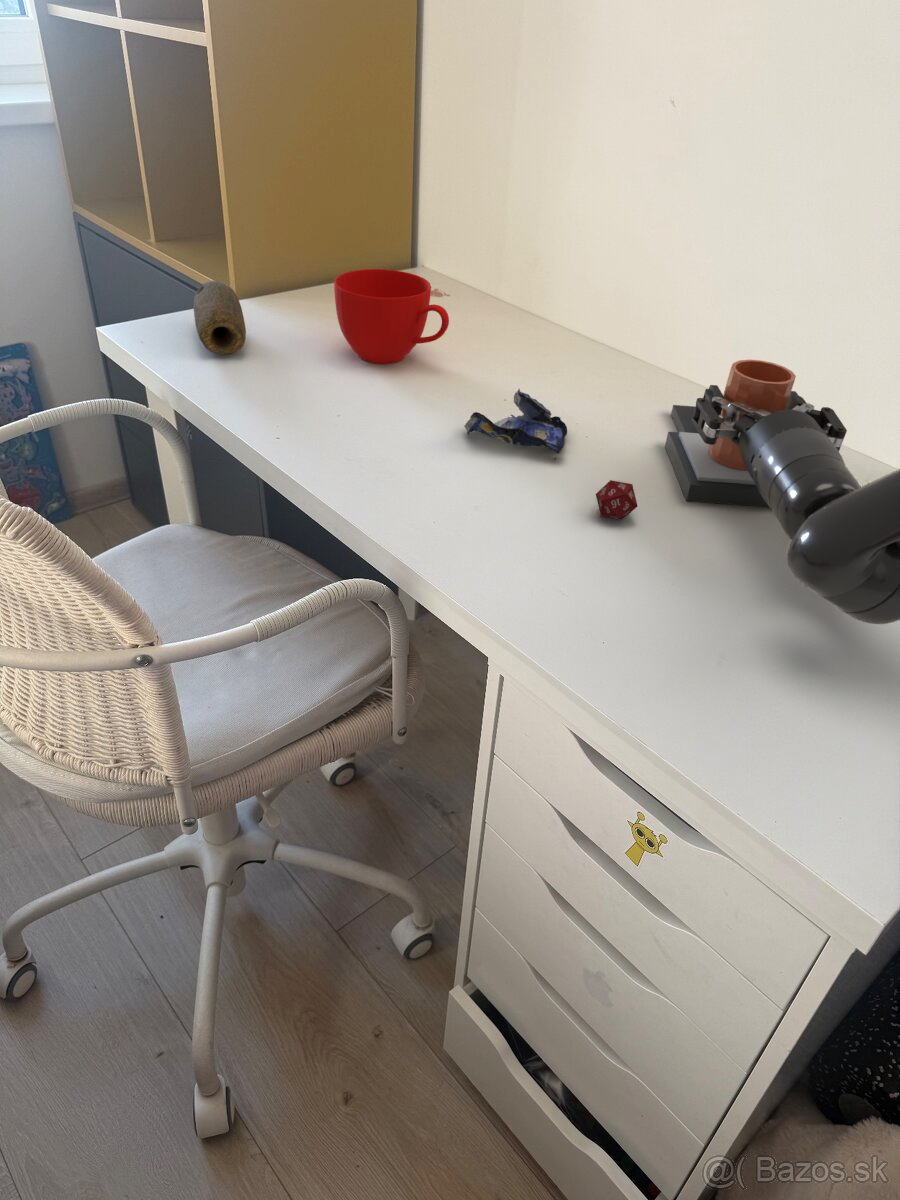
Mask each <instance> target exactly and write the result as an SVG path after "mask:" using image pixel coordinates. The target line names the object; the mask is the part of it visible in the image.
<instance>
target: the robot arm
mask: <svg viewBox="0 0 900 1200" xmlns="http://www.w3.org/2000/svg"><path fill="white" fill-rule="evenodd" d="M723 394H724V393H722V390H721V389H720V387H719V386H718V385H716V384H710V385H709V387H708V388H705V389H704V394H703V397H698V398H696V401H695V406H694V407H695V410H694V414H693V416H692V420H691V421H692V423H693V425H694V426H695V428H696V430H697V431H698V433H699V435H700V436H701V438H702V439H703V441H704V442H705V443H706V444H709V445H714V444H716V441H717V438H731V440H732V442H734V443H735V444H737V445H738V446H739V447H740V450H741V455H742V459H743V462H744V465H745V466H746V468H747V470H748V472H749V474H750V476H751V477H752V479H753V481H754V483H755V485H756V487H757V489H758V490H759V492H760V494H761V496H762V497H763V499H764V501H765V502H766V503H767V504H768V505H769V507H768V508H770V509H771V511H772V512H773V513H774V516H775V517H776V519H777V521H778V523H779V524H780V526H781V528H782V530H783V531H784V533H785V534H786V536H787V537H788V538H789V539H790V540H791V541H790V543H789V545H788V550H787V565H788V568H789V570H790V572H791V574H792V575H793V576H794V577H795V579H796V580H797V581H798V582H799V583H800V584H802V585H803V586H805V587H806V588H807V589H808V590H811V591H812V592H814V593H815V594H816V595H818V596H820V597H821V598H823V599H824V600H826V601H827V602H829V603H830V604H831V605H833V606H834V607H836V608H838V609H839V610H841V611H842V612H843V613H845V614H846V615H848V616H850V617H851V618H853V619H854V620H857V621H859V622H862V623H866V624H871V625H887V624H892V623H895V622H896V623H897V622H898V621H900V468H898V469H896V470H894V471H892V472H890V473H887V474H885V475H883V476H881V477H879V478H877V479H875V480H873V481H871V482H868V483H867V484H864V485H862V486H861V485H860V483H859V482H858V480H857V479H856V478H855V476H854V475H853V474H852V472H851V471H850V470H849V468H848V467H847V466H846V463H845V460H844V458H843V456H842V455H841V453H840V450H841V448H842V445H843V442H844V439H845V437H846V434H847V433H848V430H847V428H846V426H845V425H844V423H843V421H841V418H840V417H838V415H837V414H836V411H835V410H834V409H833V408H831V407H828V406H822V407H821V408H820V410H819V409H815V405H813V404H811V403H807V401H806V400H805V399H804V397H803V396H800V395H799V393H798V392H797V391H795V390H791V393H790V396H789V399H788V402H787V405H786V408H785V410H781V411H777V412H768V411H766V410H764V409H759V410H758V409H756V408H754V407H752V406H750V405H747V404H745V403H743V402H741V401H737V402H734V403H732V402H730V401H728V400H725V399H724V396H723ZM722 408H723V409H725V410H726V412H727V414H726V417H725V419H724V418H723V416H721V412H722ZM740 412H741V413H743V414H745V415H744V416H742V417H741V418H740V419H739V420H738V417H739V414H740Z"/></svg>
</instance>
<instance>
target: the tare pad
mask: <svg viewBox="0 0 900 1200" xmlns="http://www.w3.org/2000/svg"><path fill="white" fill-rule="evenodd" d="M671 408H672V409H671V413H670V416H671V419H672V421H673V423H674V425H675V427H676V430H677V432H687V433H698V431H697V430H696V428H695V426H694V425H693V423H692V421H691V420H692V416H693V414H694V410H695V406H694V405H693V406H692V405H679V404H673V405H672V407H671Z"/></svg>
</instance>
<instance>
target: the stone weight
mask: <svg viewBox="0 0 900 1200" xmlns="http://www.w3.org/2000/svg"><path fill="white" fill-rule="evenodd" d="M193 318H194V325H195V328H196V332H197V336H198V338H199V340H200V342H201V344H202V345H203V346H204V348H205V349H207V351H209V352H211V353H213V354H219V355H227V354H234V353H237V352H238V351H240V350H241V349H242V348H243V347H244V346H245V342H246V338H247V330H246V329H247V328H246V322H245V317H244V313H243V309H242V305H241V302H240V299H239V297H238V295H237V294H236V292H235V290H234V289H233V288H232V287H231V286H229V285H227V284H226V283H225V282H223V281H219V280H210V281H206V282H204V283H203V284H201V286H200V287H199V288H198V289H197V291H196V292H195V295H194V298H193Z"/></svg>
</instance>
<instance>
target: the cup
mask: <svg viewBox="0 0 900 1200" xmlns="http://www.w3.org/2000/svg"><path fill="white" fill-rule="evenodd" d="M796 376H797V375H796V374H795V373H794V372H793V371H792V370H790V369H789V368H787V367H786V366H783V365H781V364H778V363H775V362H771V361H766V360H759V359H742V360H741V359H740V360H737V361H735V362H733V363H732V365H731V366H730V369H729V374H728V377H727V379H726V384H725V387H724V391H723V393H722V394H723V396H724V399H725V400H728V401H730V402H732V403H734V402H737V401H741V402H743V403H745V404H747V405H750V406H752V407H754V408H756V409H758V410H759V409H764V410H766V411H768V412H777V411H781V410H785V408H786V405H787V402H788V399H789V396H790V393H791V391H793V387H794V384H795V381H796V378H797V377H796ZM726 414H727V412H726V410H725V409H723V408H722V412H721V416H723V418H724V419H725V417H726ZM744 415H745V414H743V413H741V412H740V414H739V417H738V420H739V419H740V418H741V417H742V416H744ZM708 454H709V456H710V457H711V459H713V460H714V461H715V462H717V463H719V464H721V465H723V466H725V467H728V468H732V469H736V470H743V471H748V470H747V468H746V466H745V465H744V462H743V459H742V455H741V450H740V447H739V446H738V445H737V444H735V443H734V442H732V440H731V438H717V441H716V444H714V445H709V449H708Z"/></svg>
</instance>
